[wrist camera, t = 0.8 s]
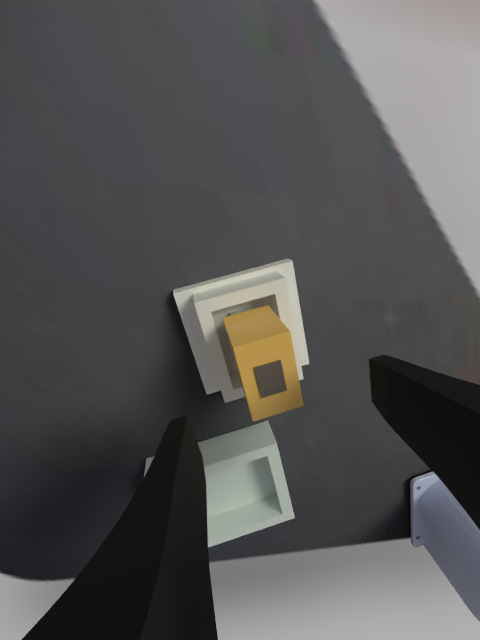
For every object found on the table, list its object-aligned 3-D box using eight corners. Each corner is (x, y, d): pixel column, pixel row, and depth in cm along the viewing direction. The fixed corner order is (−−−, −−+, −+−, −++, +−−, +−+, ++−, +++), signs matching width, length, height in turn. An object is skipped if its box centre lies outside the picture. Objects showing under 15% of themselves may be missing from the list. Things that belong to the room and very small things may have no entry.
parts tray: (285, 491, 25) (294, 517, 23) (179, 526, 24) (178, 557, 22) (267, 420, 22) (276, 443, 20) (146, 458, 21) (142, 486, 19)
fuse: (272, 353, 19) (304, 406, 14) (234, 365, 19) (253, 423, 14) (260, 295, 18) (290, 332, 13) (218, 307, 18) (233, 348, 13)
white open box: (304, 358, 21) (320, 378, 18) (205, 387, 20) (208, 412, 18) (288, 258, 18) (303, 266, 16) (173, 289, 18) (172, 303, 15)
